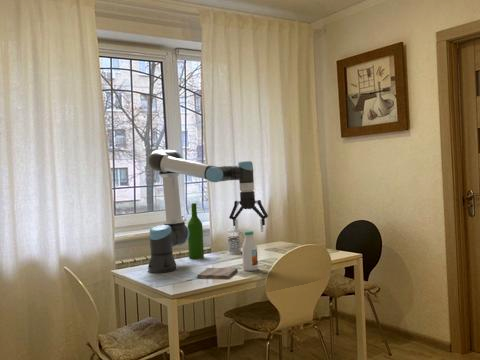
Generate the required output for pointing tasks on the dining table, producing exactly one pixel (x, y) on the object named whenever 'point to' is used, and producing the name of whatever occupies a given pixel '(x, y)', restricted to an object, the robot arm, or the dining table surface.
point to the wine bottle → (195, 235)
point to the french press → (230, 247)
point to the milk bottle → (249, 252)
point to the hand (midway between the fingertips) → (249, 232)
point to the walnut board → (217, 273)
